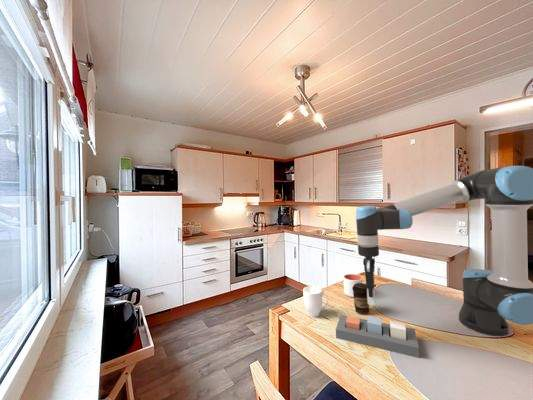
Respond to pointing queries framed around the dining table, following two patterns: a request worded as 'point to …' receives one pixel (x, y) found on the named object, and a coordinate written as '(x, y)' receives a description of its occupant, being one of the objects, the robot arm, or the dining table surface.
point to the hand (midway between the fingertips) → (371, 303)
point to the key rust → (353, 323)
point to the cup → (351, 283)
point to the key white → (397, 330)
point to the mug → (313, 300)
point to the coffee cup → (360, 298)
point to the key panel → (379, 337)
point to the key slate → (374, 325)
